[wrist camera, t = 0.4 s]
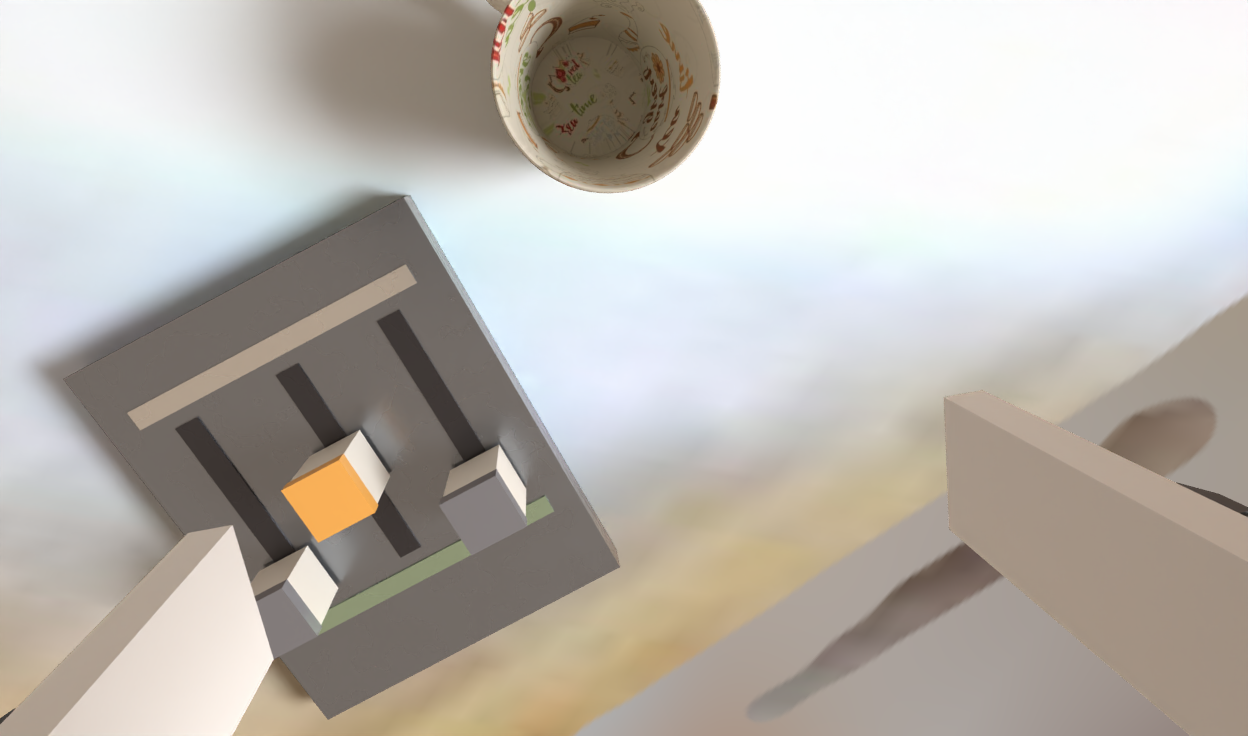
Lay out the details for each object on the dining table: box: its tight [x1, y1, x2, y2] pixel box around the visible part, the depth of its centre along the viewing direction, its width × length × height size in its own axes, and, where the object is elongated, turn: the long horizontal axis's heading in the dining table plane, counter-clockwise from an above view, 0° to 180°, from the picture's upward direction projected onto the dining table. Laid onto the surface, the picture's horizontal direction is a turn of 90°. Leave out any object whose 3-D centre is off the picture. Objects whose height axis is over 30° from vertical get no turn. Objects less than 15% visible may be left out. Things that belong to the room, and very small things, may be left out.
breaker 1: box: [251, 546, 338, 659], centre depth 37 cm, size 3×3×4 cm
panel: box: [63, 196, 620, 719], centre depth 39 cm, size 22×18×2 cm
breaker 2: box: [439, 445, 527, 555], centre depth 37 cm, size 3×3×4 cm
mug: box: [486, 0, 720, 193], centre depth 32 cm, size 8×13×10 cm, turn 51°
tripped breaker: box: [281, 430, 390, 543], centre depth 36 cm, size 3×3×4 cm
